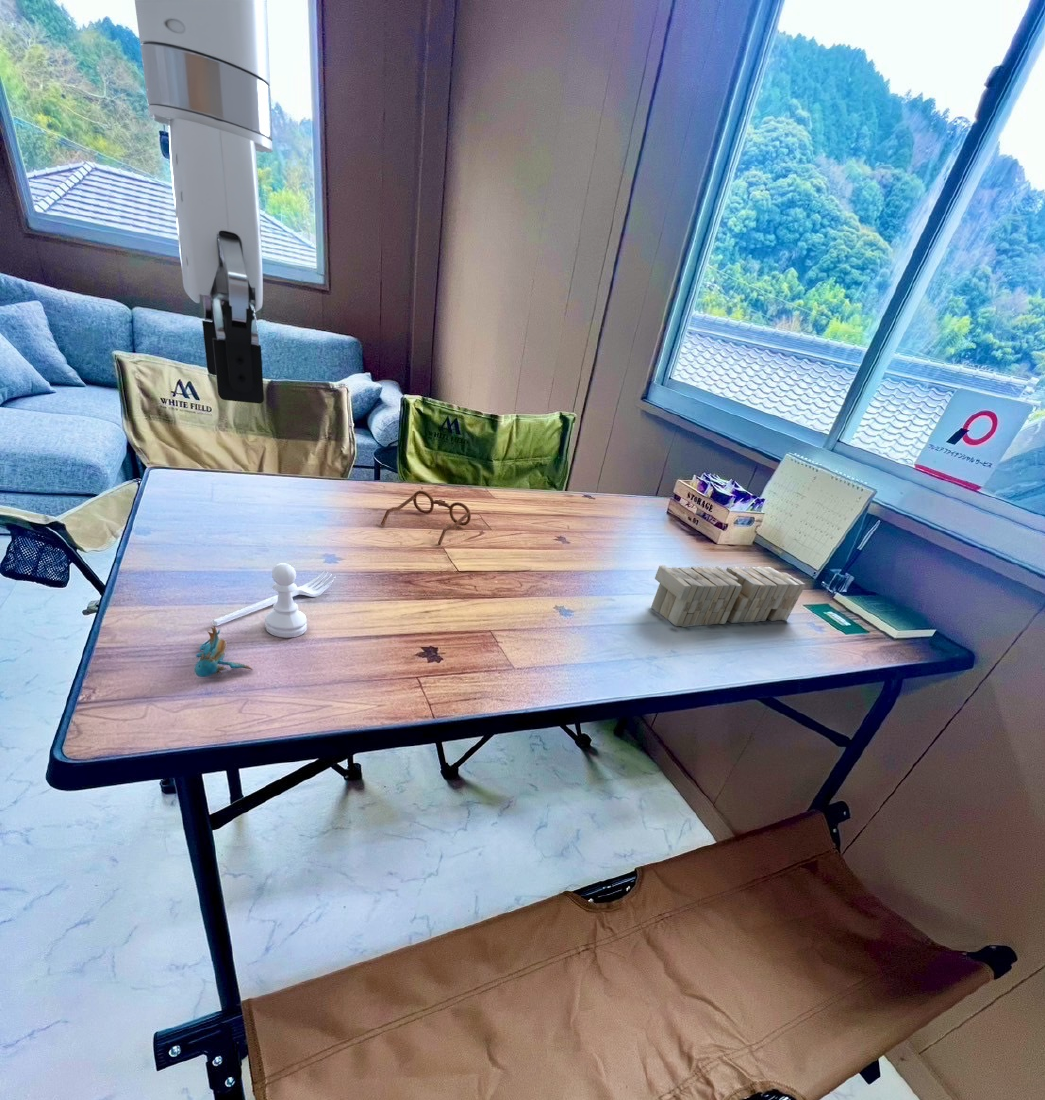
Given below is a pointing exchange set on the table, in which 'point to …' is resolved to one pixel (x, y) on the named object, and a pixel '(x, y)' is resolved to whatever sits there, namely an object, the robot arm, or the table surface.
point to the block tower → (724, 595)
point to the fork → (306, 589)
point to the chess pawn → (285, 605)
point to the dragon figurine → (214, 657)
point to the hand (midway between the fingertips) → (234, 387)
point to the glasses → (432, 510)
